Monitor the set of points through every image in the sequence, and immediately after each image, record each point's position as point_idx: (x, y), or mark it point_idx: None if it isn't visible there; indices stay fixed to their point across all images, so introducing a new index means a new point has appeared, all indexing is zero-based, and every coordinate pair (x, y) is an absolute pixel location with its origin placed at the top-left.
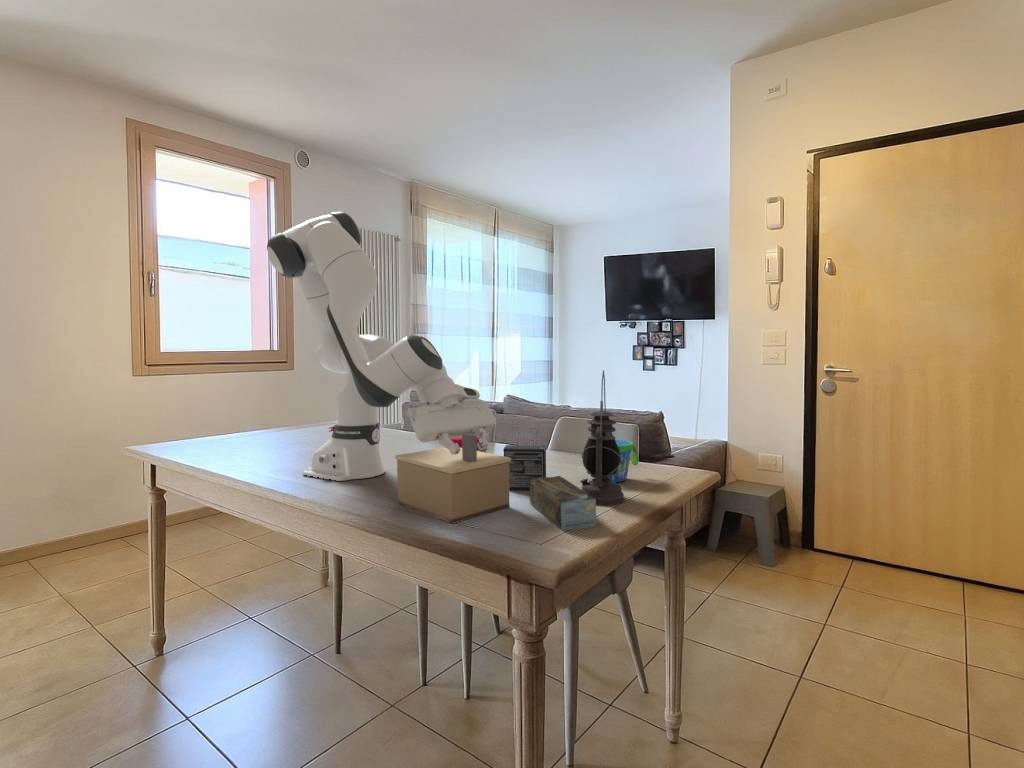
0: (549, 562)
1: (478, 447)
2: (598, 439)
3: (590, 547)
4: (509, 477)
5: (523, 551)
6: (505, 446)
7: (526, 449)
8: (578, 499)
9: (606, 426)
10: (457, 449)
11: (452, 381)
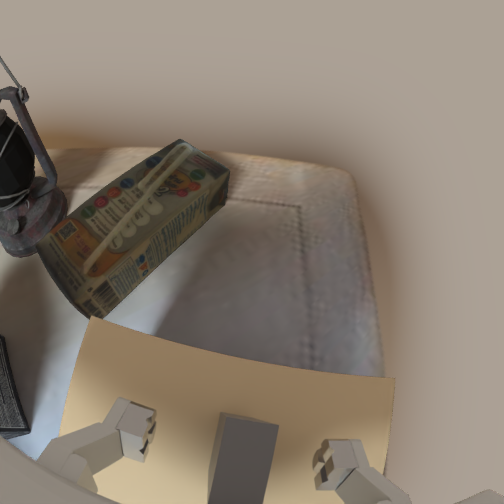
0: (338, 180)
1: None
2: (23, 106)
3: (265, 158)
4: (7, 417)
5: (336, 215)
6: None
7: None
8: (200, 152)
9: None
10: (344, 440)
11: None
